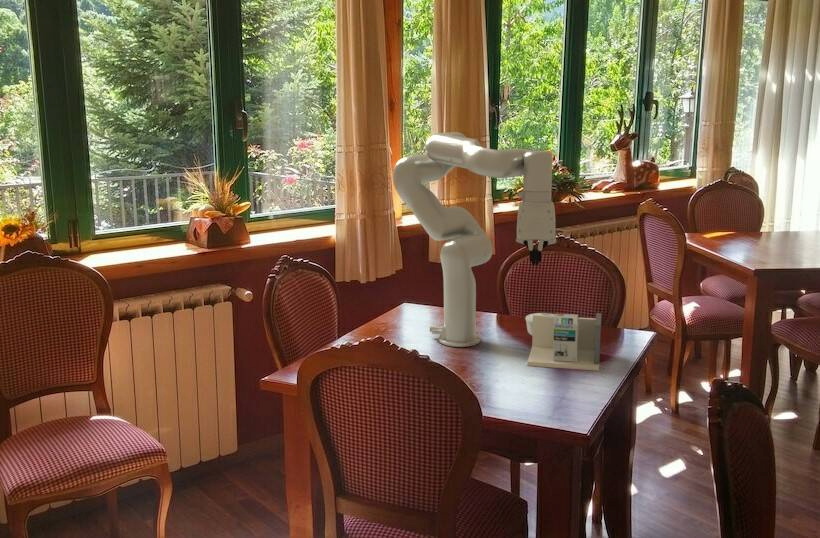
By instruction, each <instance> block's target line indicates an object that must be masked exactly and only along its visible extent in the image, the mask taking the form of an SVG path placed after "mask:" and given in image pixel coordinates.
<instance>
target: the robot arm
mask: <svg viewBox="0 0 820 538" xmlns="http://www.w3.org/2000/svg"><path fill="white" fill-rule="evenodd" d="M424 152H425V153H423V154H422V153H421V154H413V155H408V156H405V157H401V159H399V160H397V162H396V163H395V164H394V167H393V171H392V182H393V186H394V189H395V190H396V194H398V196H399V197H400V199H401V200H402V201H403V203H405V204H406V205H407V207H408V208H409V209H410V210H411V212H412V213H413V215H414V216H415V218H416V220H417V221H418V222H419V223H420V225H421V226H422V228H423V229H424V230H425V232H426V233H427V235H428V236H429V237H430V238H431V239H432V240H434V241H438V242H439V241H446V242H444V244H443V245H442V247H441V250H440V254H439V255H440V257H439V258H440V263H441V268H442V277H443V278H442V279H443V325H440V326H438V325H430V326H429V332H430V333H431V334H433V335H438V341H439V343H440V344H442V345H444V346H447V347H455V348H464V347H465V348H466V347H471V346H472V347H473V346H476V345H478V344H480V343H481V339H482V338H481V336H480V335H479V334H477V333H476V324H477V323H476V316H477V314H476V313H477V312H476V311H477V310H476V309H477V305H476V304H477V303H476V302H477V299H476V298H477V290H476V288H477V285H476V284H477V283H476V278H475V275H474V272H473V270H472V268H474V267H476V266H479V265H483V264H486V263H487V262H488V261H490V259H491V258H492V255H493V252H494V251H493V244H492V242H491V240H490V238H489V236H488V235H487V233H486V232H485V231H484V230H483V228H482V227H481V226H480V224H479V223H478V222H477V220H476V219H475V218H474V216H473V215H472V214H471V212H469V211H468V210H467V209H465V208H464V207H462V206H458V205H457V206H454V205H453V206H449V207H448V206H447V207H446V206H444V205H443V204H442V202H440V200H439V199H438V197H437V195H436V194H435V193H434V191H433V192H432V191H431V190H430V189H429V188H428V187H427V186H425V185H424V184H423V183H431V182H436V181H439V180H441V179H442V178H444V177H445V176H446V175H447V174H449V173H450V172H451V171H453V170H454V169H455V168H456V167H458V168H463V169H467V170H468V171H469V172H471V173H473V174H476V175H479V176H483V177H488V178H493V179H494V178H495V179H507V178H515V177H522V178H523V179H522V190H521V192H517V198H520V199H521V200H522V201H520V202H519V205H518V210H517V221H516V238H515V242H516V243H518V244H522V245H524V246H525V247H526V248H527V249H528V250H529V262H531V266H539V264H540V263H541V262H542V258H543V257H542V252H543V250H544V249H545V248H546V247H547V246H549V245H554V244H557V238H556V237H557V236H556V211H555V210H556V209H555V204H554V202H553V201H552V183H553V180H552V179H553V154H552V152H550V151H548V150H542V149H541V150H538V149H537V150H535V149H534V150H530V149H526V148H507V149H493V148H488V147H483V146H482V144H481V142H480V141H479V140H478V139H474V138H471V137H467V136H466V135H465V134H463V133H462V132H459V131H456V132H455V131H451V132H438V133H435V134H433V135H431V136H430V137H429V138H427V140H426V142H425V145H424ZM534 241H538V245H537V247H535V246H534Z"/></svg>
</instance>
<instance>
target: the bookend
mask: <svg viewBox="0 0 820 538" xmlns="http://www.w3.org/2000/svg"><path fill="white" fill-rule="evenodd" d="M595 318H596V325H595V350H594V364H598V365H599V366H600V353H601V333H602V332H601V331H602V329H601V328H602V313H601V312H600V313H599V312H596V314H595Z"/></svg>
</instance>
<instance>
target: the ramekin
mask: <svg viewBox="0 0 820 538" xmlns="http://www.w3.org/2000/svg"><path fill="white" fill-rule="evenodd" d="M533 315H541V316H555V314H554V313H547V312H538V313H537V312H535V313H530V314H528V315H525V321H526V329H527V333H528V334H529V335H530V336H532V333H533Z"/></svg>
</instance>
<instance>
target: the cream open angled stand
mask: <svg viewBox="0 0 820 538" xmlns="http://www.w3.org/2000/svg"><path fill="white" fill-rule="evenodd" d="M554 317H555V316H541V315H533V333H532V335H531V336H532V339H531V340H532V343H531V344H532V345H531V349H530V353H529V355H528V359H527V366H528V367H541V368H557V369H570V370H581V371H582V370H584V371H585V370H586V371H600V364H599V365H598V364H594V350H595V325H596V317H595V318H593V317H578V357H577V362H569V361H553V343H554Z"/></svg>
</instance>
